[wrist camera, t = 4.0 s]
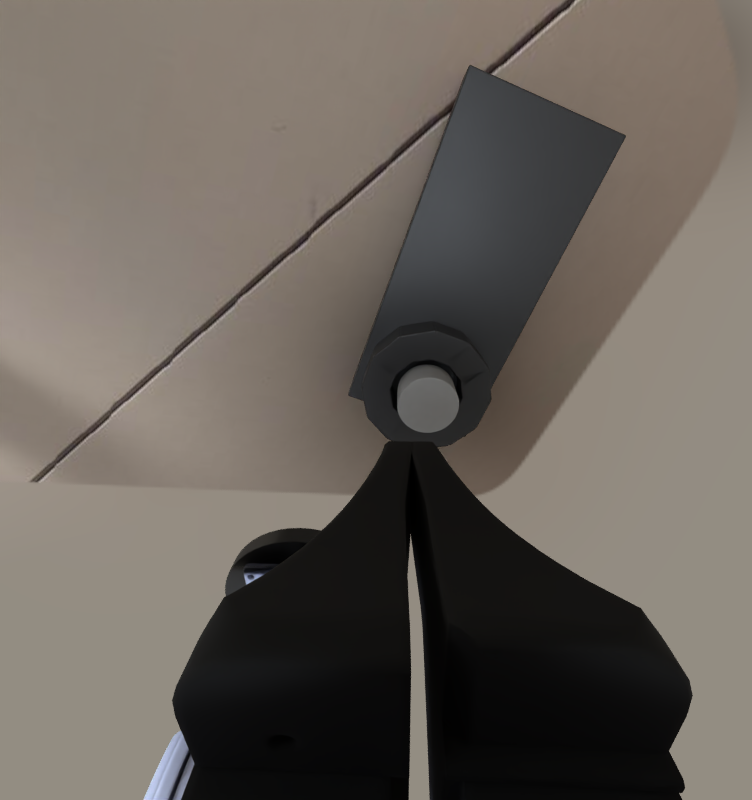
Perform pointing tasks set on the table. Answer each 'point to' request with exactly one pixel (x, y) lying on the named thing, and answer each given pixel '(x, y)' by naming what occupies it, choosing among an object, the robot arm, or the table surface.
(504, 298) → the scale
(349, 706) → the robot arm
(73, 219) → the table surface
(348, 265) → the table surface
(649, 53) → the table surface
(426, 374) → the button
